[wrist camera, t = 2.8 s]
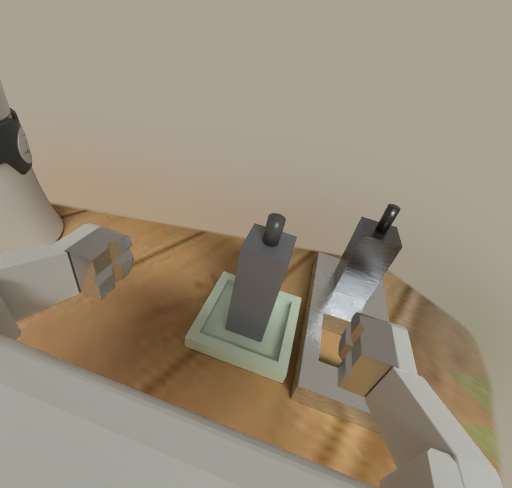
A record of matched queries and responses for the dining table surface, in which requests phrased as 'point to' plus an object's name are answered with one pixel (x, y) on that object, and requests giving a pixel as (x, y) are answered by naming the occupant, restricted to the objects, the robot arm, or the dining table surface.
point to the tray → (237, 346)
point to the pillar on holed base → (344, 314)
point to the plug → (259, 277)
